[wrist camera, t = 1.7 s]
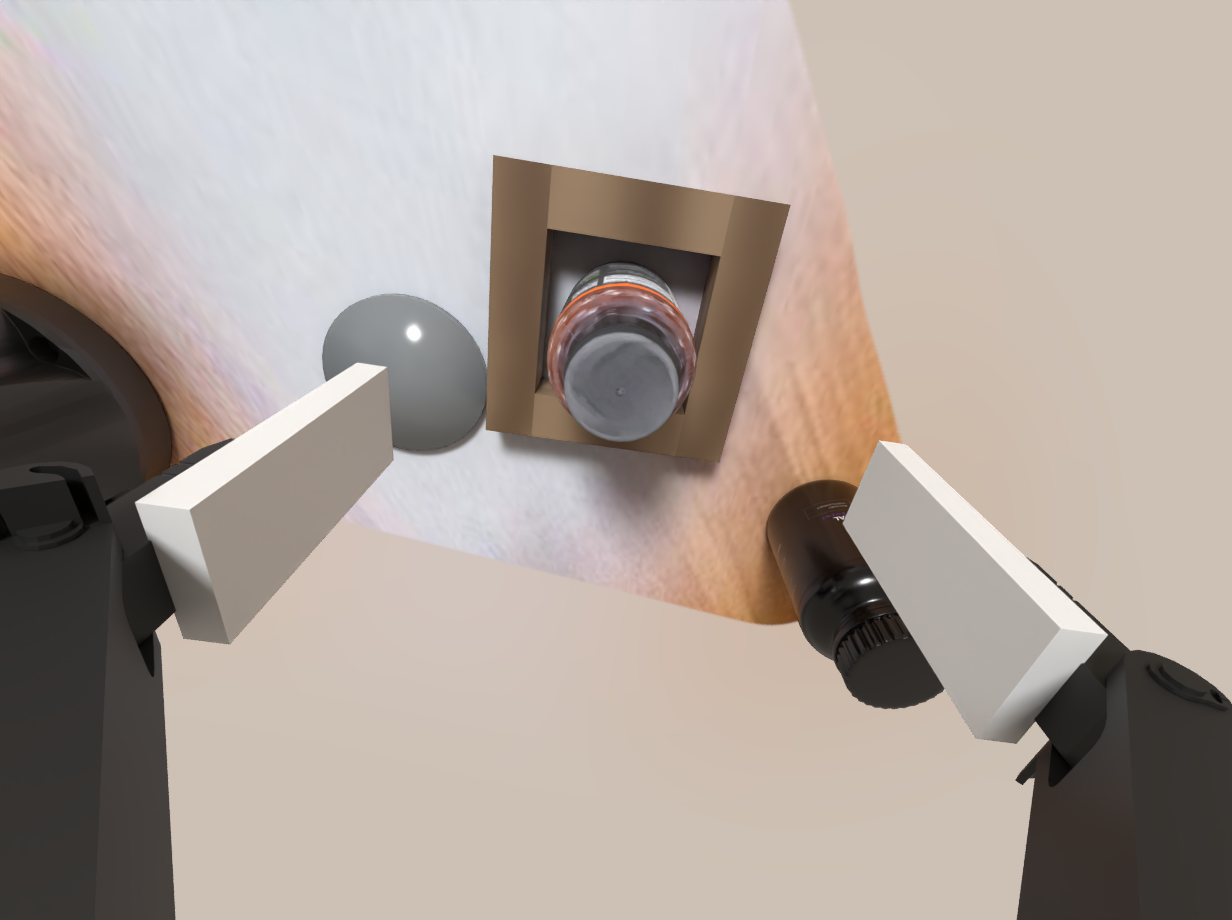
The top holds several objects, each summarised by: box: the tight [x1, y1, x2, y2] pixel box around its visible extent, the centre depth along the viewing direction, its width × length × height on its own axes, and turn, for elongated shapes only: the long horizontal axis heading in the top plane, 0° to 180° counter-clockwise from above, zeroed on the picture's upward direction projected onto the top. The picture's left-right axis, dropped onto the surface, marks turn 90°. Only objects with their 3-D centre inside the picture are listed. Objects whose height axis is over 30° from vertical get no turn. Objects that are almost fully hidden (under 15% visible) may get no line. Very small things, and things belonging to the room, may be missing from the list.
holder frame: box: [486, 155, 790, 462], centre depth 26 cm, size 13×13×2 cm
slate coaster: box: [322, 294, 487, 451], centre depth 29 cm, size 9×9×1 cm
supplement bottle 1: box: [547, 262, 697, 442], centre depth 22 cm, size 6×6×11 cm
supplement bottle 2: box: [767, 480, 945, 709], centre depth 28 cm, size 7×7×12 cm
